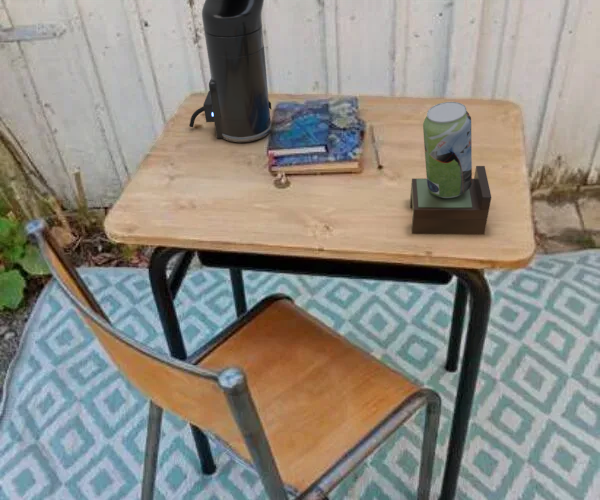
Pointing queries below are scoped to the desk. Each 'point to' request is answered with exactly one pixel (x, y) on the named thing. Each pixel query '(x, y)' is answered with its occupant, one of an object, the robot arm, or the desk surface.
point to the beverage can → (448, 149)
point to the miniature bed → (451, 208)
